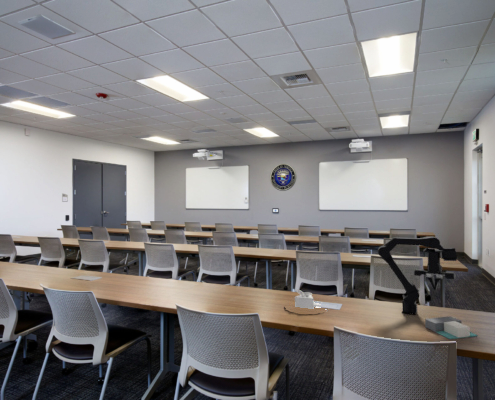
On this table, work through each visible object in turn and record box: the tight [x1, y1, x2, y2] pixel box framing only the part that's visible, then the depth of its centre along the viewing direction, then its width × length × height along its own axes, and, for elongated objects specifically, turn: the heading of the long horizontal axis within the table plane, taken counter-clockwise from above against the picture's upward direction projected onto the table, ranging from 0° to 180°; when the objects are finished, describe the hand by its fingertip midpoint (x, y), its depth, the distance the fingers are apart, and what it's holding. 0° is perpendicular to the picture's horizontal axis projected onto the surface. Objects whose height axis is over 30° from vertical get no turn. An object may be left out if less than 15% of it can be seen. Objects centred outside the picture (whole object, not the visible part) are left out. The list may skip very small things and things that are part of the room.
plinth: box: [424, 315, 463, 333], centre depth 160 cm, size 6×14×4 cm, turn 101°
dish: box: [294, 289, 328, 311], centre depth 197 cm, size 25×25×11 cm
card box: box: [444, 321, 471, 339], centre depth 152 cm, size 4×6×8 cm
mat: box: [435, 331, 478, 340], centre depth 152 cm, size 8×14×1 cm, turn 101°
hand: (435, 290), depth 180 cm, fingers closed
